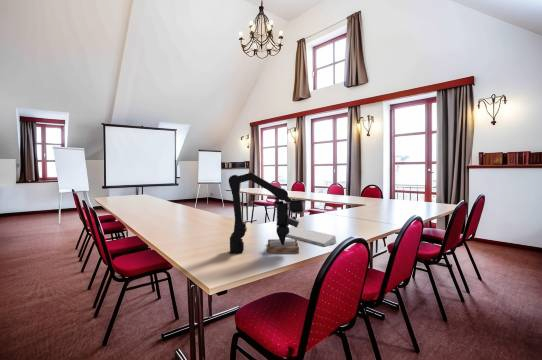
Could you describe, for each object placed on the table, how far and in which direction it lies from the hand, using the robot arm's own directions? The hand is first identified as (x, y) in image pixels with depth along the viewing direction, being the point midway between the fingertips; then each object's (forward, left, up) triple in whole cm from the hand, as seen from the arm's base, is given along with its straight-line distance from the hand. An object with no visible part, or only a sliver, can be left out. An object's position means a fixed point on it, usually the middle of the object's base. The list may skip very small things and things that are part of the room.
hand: (282, 242), depth 141 cm
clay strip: (0, 0, -3) cm, 3 cm away
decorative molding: (+15, +23, -5) cm, 28 cm away
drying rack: (0, +4, -4) cm, 5 cm away
